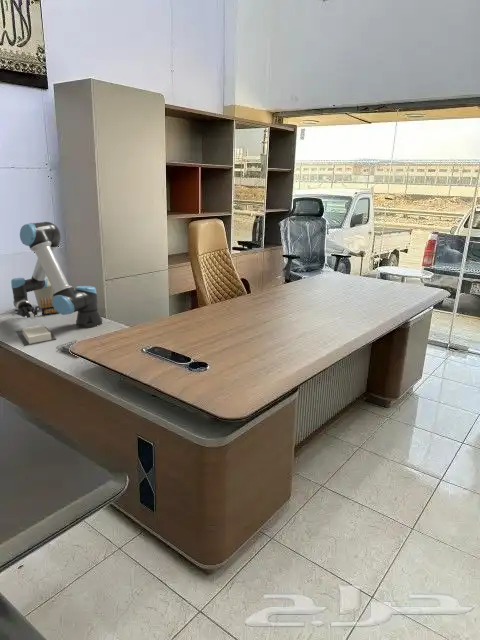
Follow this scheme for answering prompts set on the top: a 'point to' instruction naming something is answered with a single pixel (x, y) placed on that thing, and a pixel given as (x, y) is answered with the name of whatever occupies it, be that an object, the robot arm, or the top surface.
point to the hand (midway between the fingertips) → (32, 316)
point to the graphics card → (65, 346)
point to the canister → (44, 293)
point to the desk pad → (25, 342)
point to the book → (36, 334)
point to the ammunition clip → (47, 307)
